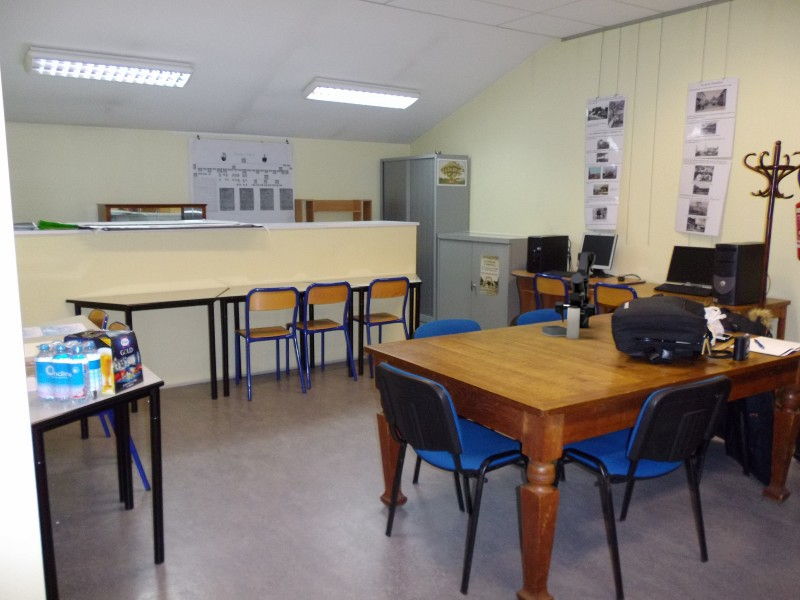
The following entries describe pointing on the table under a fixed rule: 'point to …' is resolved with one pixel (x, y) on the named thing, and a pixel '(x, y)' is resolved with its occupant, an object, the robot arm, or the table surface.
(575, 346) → the table surface
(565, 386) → the table surface
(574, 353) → the table surface
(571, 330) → the paper towel roll
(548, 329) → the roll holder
